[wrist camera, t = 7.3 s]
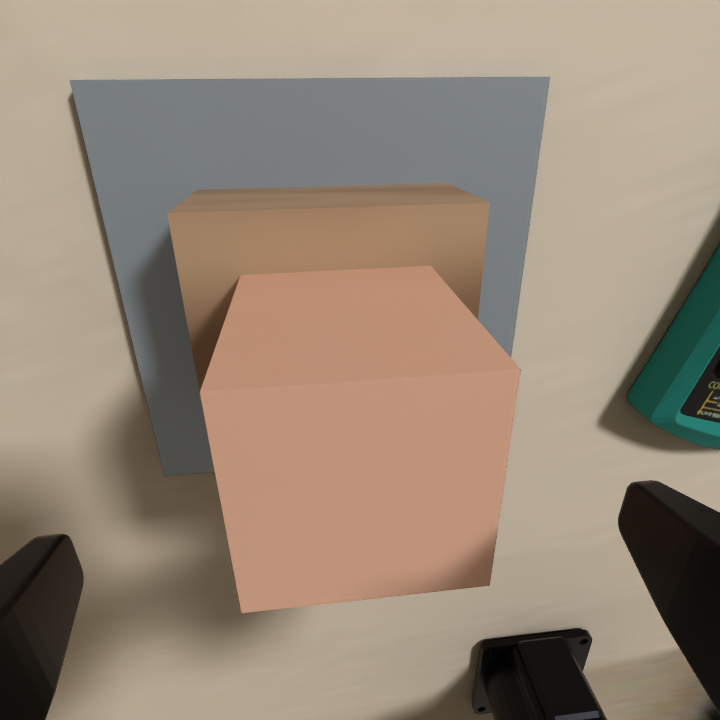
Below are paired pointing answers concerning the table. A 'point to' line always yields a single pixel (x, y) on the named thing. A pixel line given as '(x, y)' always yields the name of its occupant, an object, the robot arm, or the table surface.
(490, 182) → the grey flat square plate
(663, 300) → the table surface
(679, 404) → the digital multimeter
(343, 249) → the walnut base block
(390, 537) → the terracotta cube
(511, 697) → the robot arm
